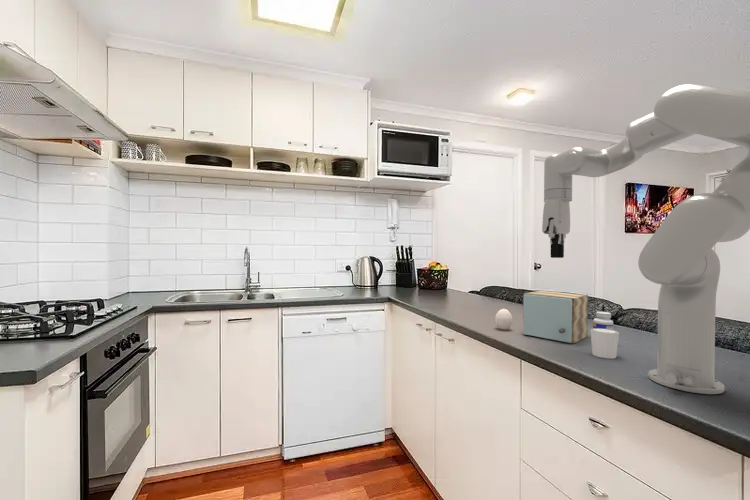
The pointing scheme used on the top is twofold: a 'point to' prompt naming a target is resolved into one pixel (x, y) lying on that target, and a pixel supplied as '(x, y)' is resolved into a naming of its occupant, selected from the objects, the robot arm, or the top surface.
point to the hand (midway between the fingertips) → (557, 257)
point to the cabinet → (577, 311)
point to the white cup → (604, 342)
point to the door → (548, 317)
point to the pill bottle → (603, 321)
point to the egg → (503, 319)
